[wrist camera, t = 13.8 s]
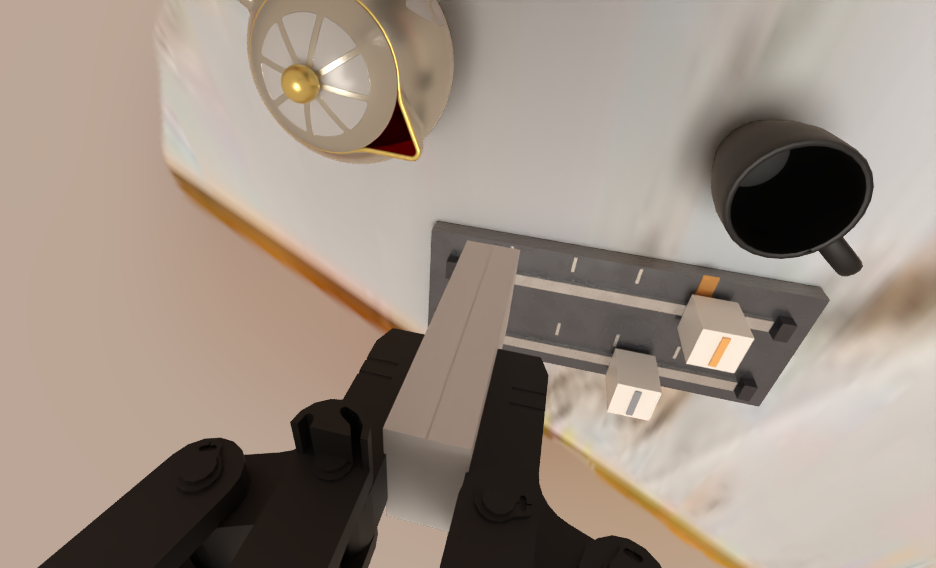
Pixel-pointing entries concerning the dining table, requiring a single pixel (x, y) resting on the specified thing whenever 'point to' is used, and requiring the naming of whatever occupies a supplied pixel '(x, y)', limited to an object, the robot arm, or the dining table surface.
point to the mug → (791, 191)
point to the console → (633, 310)
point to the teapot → (352, 73)
